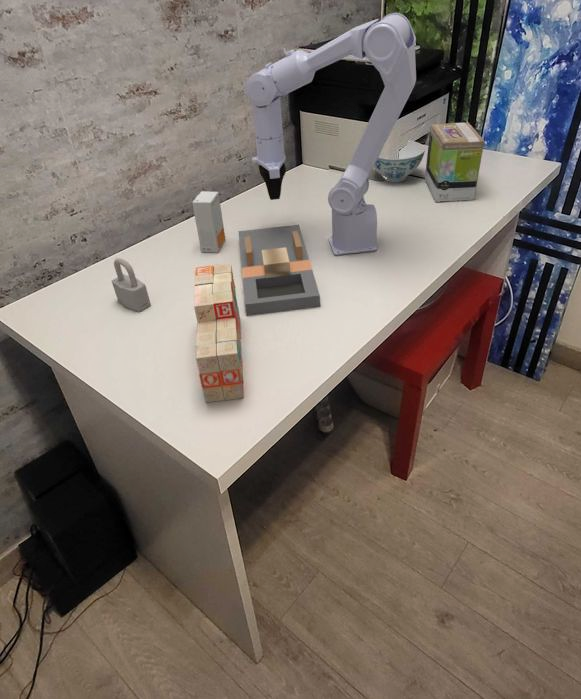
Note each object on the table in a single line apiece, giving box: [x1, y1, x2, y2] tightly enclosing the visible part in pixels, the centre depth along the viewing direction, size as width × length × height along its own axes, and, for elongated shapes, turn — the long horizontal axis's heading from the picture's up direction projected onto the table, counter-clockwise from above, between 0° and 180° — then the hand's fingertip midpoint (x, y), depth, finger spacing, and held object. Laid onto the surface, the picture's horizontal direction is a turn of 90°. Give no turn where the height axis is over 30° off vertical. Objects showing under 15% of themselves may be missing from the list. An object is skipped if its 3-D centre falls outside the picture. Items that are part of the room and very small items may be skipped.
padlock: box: [111, 257, 152, 313], centre depth 102 cm, size 7×4×10 cm, turn 51°
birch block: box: [262, 247, 290, 278], centre depth 106 cm, size 5×6×3 cm
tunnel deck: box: [238, 224, 321, 316], centre depth 109 cm, size 14×30×6 cm, turn 7°
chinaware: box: [373, 139, 426, 183], centre depth 143 cm, size 15×15×8 cm
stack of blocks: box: [193, 263, 245, 403], centre depth 86 cm, size 21×6×12 cm, turn 6°
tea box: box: [424, 122, 485, 203], centre depth 132 cm, size 15×10×15 cm
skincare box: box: [192, 190, 227, 253], centre depth 117 cm, size 6×4×12 cm
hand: (274, 198), depth 117 cm, fingers closed
